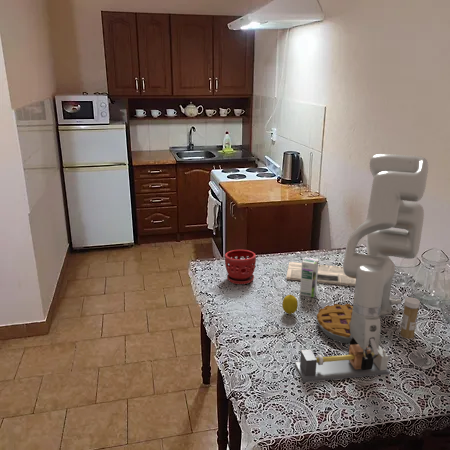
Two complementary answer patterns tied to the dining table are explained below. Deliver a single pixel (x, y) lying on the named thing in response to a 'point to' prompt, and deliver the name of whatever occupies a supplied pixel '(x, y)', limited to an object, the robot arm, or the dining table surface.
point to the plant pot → (240, 266)
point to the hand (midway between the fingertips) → (360, 360)
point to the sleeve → (357, 355)
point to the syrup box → (309, 277)
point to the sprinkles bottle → (409, 317)
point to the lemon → (290, 304)
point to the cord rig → (337, 366)
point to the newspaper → (322, 274)
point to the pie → (336, 321)
